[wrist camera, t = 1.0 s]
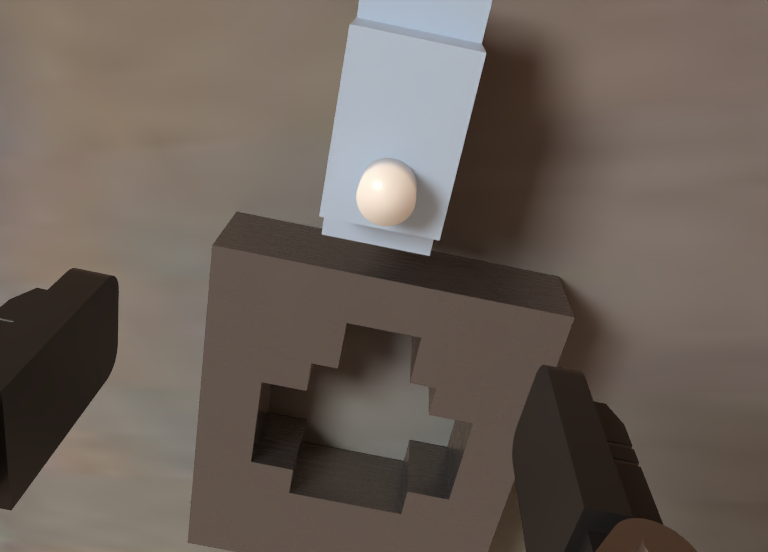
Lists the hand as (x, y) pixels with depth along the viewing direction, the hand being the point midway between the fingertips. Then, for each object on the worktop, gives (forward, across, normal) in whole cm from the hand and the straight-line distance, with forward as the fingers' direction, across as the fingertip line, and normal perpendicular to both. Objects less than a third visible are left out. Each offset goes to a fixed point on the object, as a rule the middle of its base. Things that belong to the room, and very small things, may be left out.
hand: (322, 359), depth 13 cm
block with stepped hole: (+15, -2, +12) cm, 20 cm away
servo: (+16, -1, -2) cm, 16 cm away
